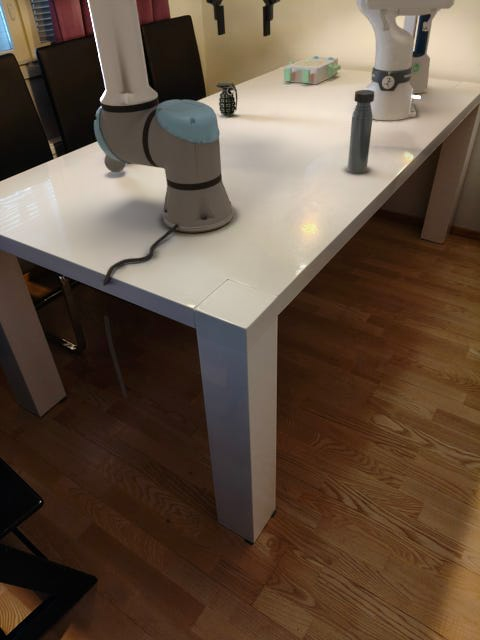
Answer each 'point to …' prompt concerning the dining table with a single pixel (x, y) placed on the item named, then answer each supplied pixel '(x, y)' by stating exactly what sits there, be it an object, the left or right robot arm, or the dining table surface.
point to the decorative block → (311, 70)
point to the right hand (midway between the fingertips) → (405, 30)
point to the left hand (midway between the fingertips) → (243, 35)
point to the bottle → (360, 138)
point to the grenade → (227, 99)
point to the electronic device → (419, 52)
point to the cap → (364, 96)
